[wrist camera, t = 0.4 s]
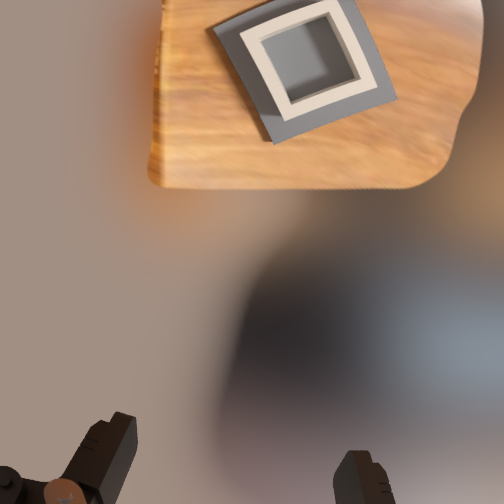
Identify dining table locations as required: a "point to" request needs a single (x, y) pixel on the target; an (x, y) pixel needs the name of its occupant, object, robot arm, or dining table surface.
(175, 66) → the dining table surface
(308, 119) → the holder board
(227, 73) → the dining table surface
